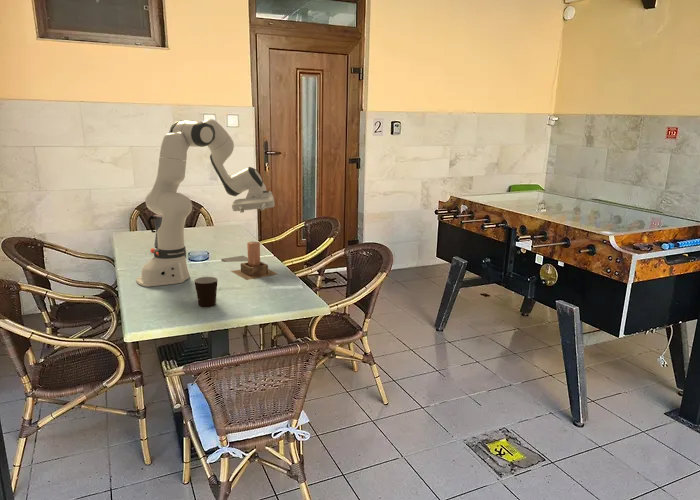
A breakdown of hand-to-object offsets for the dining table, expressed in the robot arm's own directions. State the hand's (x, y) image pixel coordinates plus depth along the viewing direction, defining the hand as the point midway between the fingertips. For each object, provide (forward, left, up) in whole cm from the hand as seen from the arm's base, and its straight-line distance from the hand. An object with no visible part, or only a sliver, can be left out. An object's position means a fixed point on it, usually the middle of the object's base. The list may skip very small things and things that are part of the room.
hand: (251, 210), depth 246 cm
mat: (-1, +16, -28) cm, 32 cm away
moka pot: (-22, +66, -29) cm, 75 cm away
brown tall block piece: (-5, -11, -27) cm, 30 cm away
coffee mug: (-37, -34, -29) cm, 58 cm away
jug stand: (-5, -10, -28) cm, 31 cm away
